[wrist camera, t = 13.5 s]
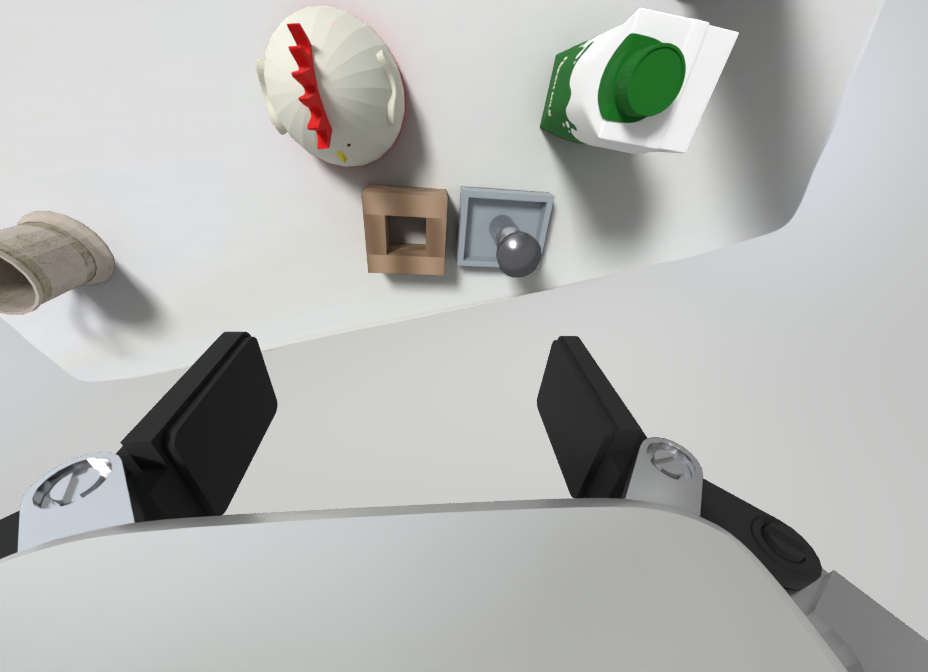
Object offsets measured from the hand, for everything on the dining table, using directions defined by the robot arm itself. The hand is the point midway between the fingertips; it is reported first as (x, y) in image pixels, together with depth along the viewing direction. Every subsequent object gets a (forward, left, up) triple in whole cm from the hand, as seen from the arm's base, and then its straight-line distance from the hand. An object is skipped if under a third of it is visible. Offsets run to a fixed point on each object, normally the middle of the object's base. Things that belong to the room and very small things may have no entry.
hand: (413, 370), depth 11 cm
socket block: (+2, +6, -38) cm, 39 cm away
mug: (+48, +13, -39) cm, 63 cm away
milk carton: (-18, -10, -39) cm, 44 cm away
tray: (-11, +5, -38) cm, 40 cm away
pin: (-11, +5, -38) cm, 40 cm away
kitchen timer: (+9, -8, -39) cm, 41 cm away
